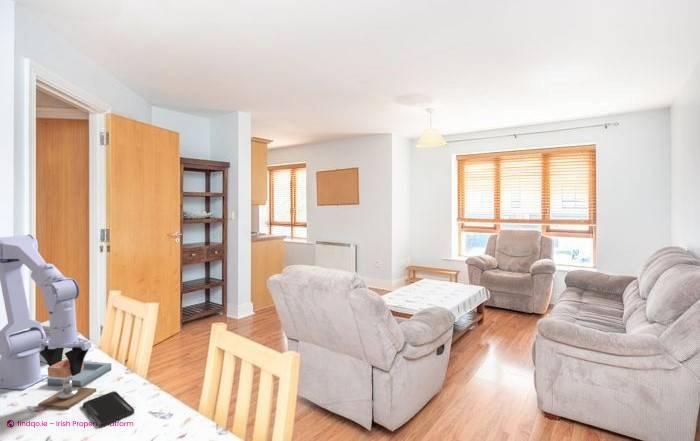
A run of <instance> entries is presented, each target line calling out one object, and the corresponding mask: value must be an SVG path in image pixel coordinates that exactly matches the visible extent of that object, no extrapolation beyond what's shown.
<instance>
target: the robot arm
mask: <svg viewBox="0 0 700 441" xmlns="http://www.w3.org/2000/svg"><path fill="white" fill-rule="evenodd" d="M37 239H38V238H36V237H35V236H34V235H33V234H25V235H14V236H3V237H0V286H1V292H2V298H3V303H4V308H5V312H6V313H5V314H6V319H7V324H5V326H3V328H1V329H0V357H1V358H0V389H10V390H26V389H27V388H29V387H31V386H34V385H35V384H37V383H39V382H41V381H43V380H45V379H47V378H49V377H48V374H42V373H41V362H40V358H39V351H40V350H42V347H45V348H44V350H42V351H40V355H42V356H43V357H44V359H45V360H46V361H47V362H46V363H47V365H48V367H50V366H52V365H54V364H56V363H58V362H60V361H62V360H63V359H62V354H63V350H64V348H72V350H70V351H68V352H66V353H65V355H66V357H65V358H67V359H68V361H69V364H70V370H71V374H72V376H75V375H77V374H79V373H80V372H81V368H82V364H83V360H85V357H86V355H87V353H88V352H89V350H90V348H92V341H91V340H87V339H84V338H81V337H78V328H77V312H76V299H78V298H79V295H80V286H79V284H78V282H77V281H76V279H75V278H70V277H65V276H64V275H63V273H61V271H60V270H59V269H58V268H57V266H55V265H54V264H53V263H46V261H45V259H44V258H43V257H42V255H41V254H40V252H39V242H38V240H37ZM23 265H24V266H25V267H26V268H28V269H29V270H30V271H31V272H30V278H31V279H32V280H33V281H34V283H35V284H36V285H37V286H38V287H39V288H40V289H41V291H42V293H41V295H42V299H43V302H44V304H45V309H46V311H47V312H48V320H49V323H50V337H51V338H46V334H45V332H44V330H43V328H42V325H41V323H42V322H40V321H38V320H35V319H32V318H31V316H30V310H29V305H28V300H27V295H26V291H25V290H26V289H25V285H24V280H23V275H22V271H21V270H22V267H23ZM23 330H24V331H23Z"/></svg>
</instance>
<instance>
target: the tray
mask: <svg viewBox="0 0 700 441" xmlns="http://www.w3.org/2000/svg"><path fill="white" fill-rule="evenodd" d="M110 371H112V362H111V363H110V362H97V361H84V369H82V370H81V372H80V373H79V374H77V375H75V376H72V375H71V376H69V377H73V379H72V387H83V388H85V386H87V385H89V384H91V383H92V382H94V381H96V380H97V379H99V378H101V377H102V376H104V375H105V374H107V373H109V372H110ZM69 377H67V378H69ZM67 378H60V377H47V378H46V380H47V382H46V383H47V386H48V387H49V386H51V387H61V388H63V384H62V382H61V381H63V380H65V379H67Z"/></svg>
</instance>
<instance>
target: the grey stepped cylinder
mask: <svg viewBox="0 0 700 441" xmlns="http://www.w3.org/2000/svg"><path fill="white" fill-rule="evenodd" d="M72 379H73V377H69V378H67V379H65V380H63V381H61V382H62V384H63V387H62V390H59V391H58V392H59V393H58V392H57V393H58V400H68V399H71V398H73V397H75V396H77V395H78V388H72Z"/></svg>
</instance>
